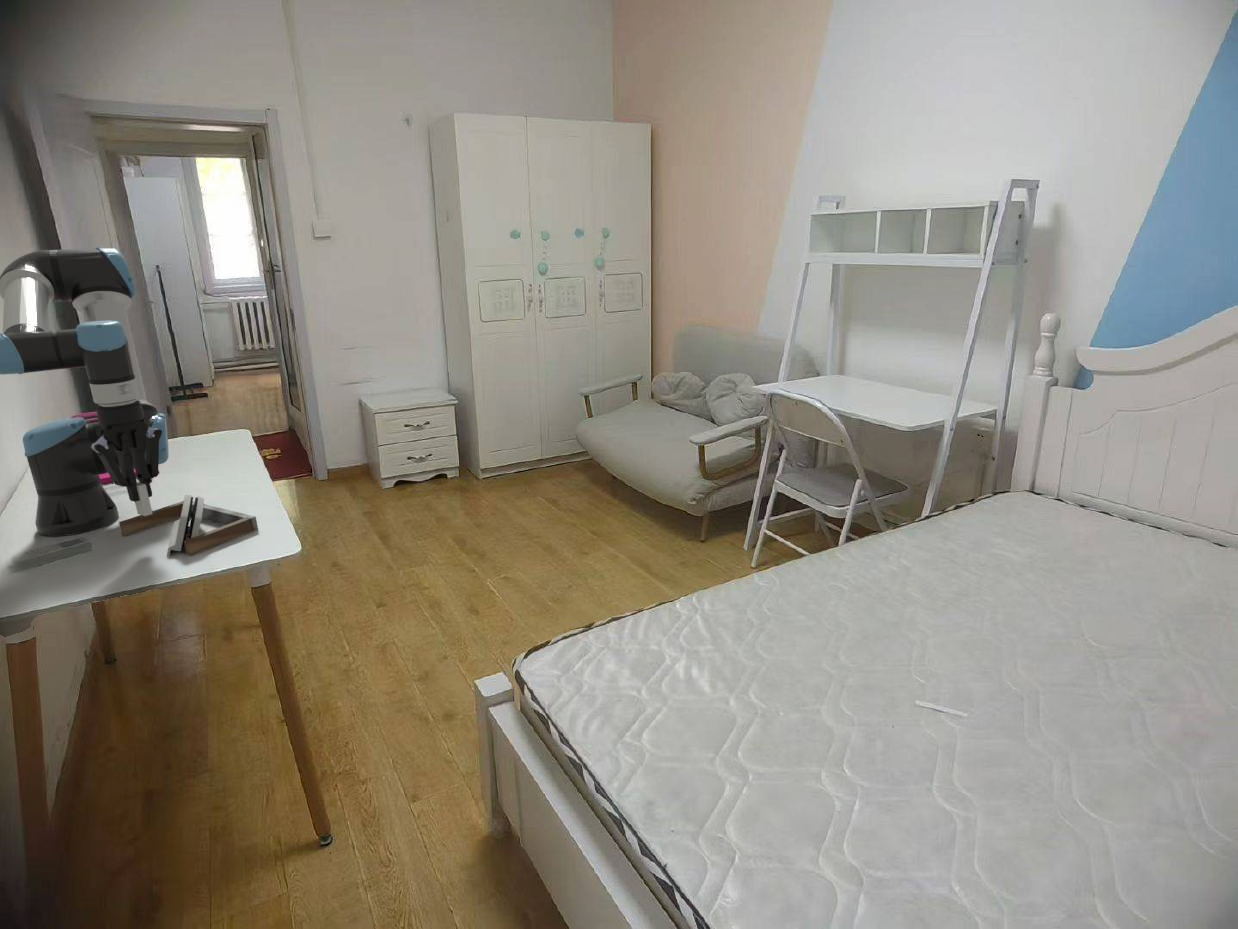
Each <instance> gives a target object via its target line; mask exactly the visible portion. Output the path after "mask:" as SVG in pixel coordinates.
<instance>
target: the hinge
mask: <svg viewBox="0 0 1238 929" xmlns="http://www.w3.org/2000/svg"><path fill="white" fill-rule="evenodd" d="M183 501H184V502H183V507H182V512H181V517H180V518H178V520H177V519H176V521H174V522H173V525H172V528H171V533H170V538H169V542H168V547H167V552H166V557H167V558H168V557H170V555H171V551H175V552H182V550H183V551H184V549H185V545H184V541H185V540H187V539H190V538H193V537H196V536H198V535H200V534H199V532H200V529H201V524H202V520H203V519H202V512H203V506H204V504H205V498H204V497H202V496H197V497H196V496H195V498H194V496H192V495H184V499H183ZM193 501H194V507H193V511H191V509H192V503H193ZM187 535H188V537H187Z"/></svg>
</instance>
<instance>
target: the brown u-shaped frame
mask: <svg viewBox="0 0 1238 929" xmlns="http://www.w3.org/2000/svg"><path fill="white" fill-rule="evenodd" d="M183 502H184V500H183V501H180V502H176V503H173V504H170V505H167V506H164V507H162V508H158V509H154V510H152V513H153V514H150V515H148V516H143V515H140V514H138V515H136V516H134V517H131V518H127V519H125V520H121V521H119V522H118V523H119V524H118V525H119V528H120V531H121V535H122V536H125V537H127V536H130V535H133V534H137V533H139V532H143V531H145V530H147V529H150V528H154V527H156V526H159V525H163V524H166V523H169V522H171V521H174V520H177V519H180V517H181V512H182V507H183ZM194 502H195V500H193V503H192V509H191V511H193V507H194ZM201 520H203V521H204V520H206V521H210V522H213V523H217V524H220V525H222V526H220V527H217V528H213V529H210V530H209V531H206V532H204V533H201V534H198V536H196V537H193V538H190V539H187V540H185V541H184V545H185V547H184V549H185V552H186V555H187V556H190V557H192V556H195V555H197V554H200V553H203V552H204V551H207V550H209V549H213V548H215V547H217V546H220V545H222V543H223V544H226V543H228V542H230V541H233V540H235V539H237V537H238V538H241V537H243V536H245V534H246V535H248V534H250V533H253V532H255V530H256V531H258V530H259V527H258V526H259V525H258V521H257V517H256V516H254V515H249V514H246V513H243V512H239V511H234V510H230V509H225V508H222V507H217V506H215V505H214V506H213V505H209V504H205V503H204V506H203V512H202V519H201ZM257 529H258V530H257ZM252 531H253V532H252ZM242 535H243V536H242ZM229 540H230V541H229ZM227 541H228V542H227ZM212 547H213V548H212Z"/></svg>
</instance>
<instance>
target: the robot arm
mask: <svg viewBox="0 0 1238 929" xmlns="http://www.w3.org/2000/svg"><path fill="white" fill-rule="evenodd" d="M137 295H138V293H137V289H136V285H135V282H134V280H133V277H132V273H131V271H130V268H129V265H128V264H127V260H126V259H125V257H124V255H123V253H122V252H121V251H120V250H118V249H116V248H111V247H109V248H106V247H105V248H103V247H102V248H101V247H95V248H78V249H77V248H73V249H41V250H36V251H32V252H30V253H26V254H24V255H22V256H20V257H18V258H16V259H15V260H13V261H12V262H11V263H10V264H8V265H7V266H6V267H5V268H4V270H3V271H2V273H1V274H0V297H1V298H2V299H3V312H2V313H3V316H2V333H0V375H14V374H15V375H16V374H17V375H22V374H23V375H24V374H29V373H37V372H46V371H56V370H65V369H68V370H69V369H76V368H85V370H86V375H87V377H88V383H89V388H90V392H91V395H92V396H91V397H92V400H93V403H94V404H97V405H96V407H95V412H97V417H96V418H98V420H97V422H96V421H95V422H91V423H89V422H88V423H87V422H86V421H85V420H86V419H85V418H84V417H83V418H81V417H76V418H70V417H69V418H64V419H60V420H55V421H51V422H47V423H44V424H41V425H38V426H36V427H34V428H32V429H30V430H28V431H27V432H26V433H24V435H23V437H22V443H23V449H24V457H26V459H27V463H28V466H29V469H30V473H31V476H32V479H33V484H34V488H35V492H36V495H37V507H36V516H35V521H34V522H35V527H36V529H37V530H36V531H37V533H38V535H41V536H46V537H60V536H70V535H76V534H81V533H82V534H83V533H84V532H85V533H86V532H89V531H93V530H95V529H99V528H102V527H104V526H107V525H109V524H112V523H113V522H115V521H116V520H117V519H119V516H120V513H119V510H118V506H117V505H116V503H115V502H114V500H113V499H112V497H111V496H110V495H109V493H108V492H107V491H106V489H105V488H104V486H103V484H101V481H100V477H99V475H101V474H107V473H109V475H110V477H111V479H112V480H113V482H112V483H113V484H115V485H116V486H118V487H126V491H127V495H128V499H129V500H130V501H131V502H134V505H135V508H136V511H137V514H138V515H143V516H148V515H150V514H153V513H152V511H153V510H152V509H153V508H152V506H151V501H150V497H153V491H152V486H151V483H153V479H154V478H158V476H159V473H158V469H159V465H162V464H164V463H166V462H167V461H168V460H169V456H170V455H169V439H168V436H169V435H168V428H167V417H166V414H165V413H160V412H159V413H158V409H157V406H155V404H152V403H150V402H148V400H147V396H146V395H147V394H146V390H145V387H144V382H143V378H142V374H141V369H140V365H139V360H138V357H137V353H136V347H135V343H134V338H133V334H132V331H131V330H132V329H131V326H130V321H129V317H128V314H127V310H128V309H129V308H130V307H131V306H132V303H133V302H132V301H133V300H132V299H133V298H136V297H137ZM59 302H71V303H72V307H73V308H74V309H75V310H76V311H79V312H80V313H81V314H82V318H83V320H84V321H83V323H79V324H78V325H77V326H76V328H70V329H59V330H55V329H54V330H51V329H52V328H51V316H50V305H51V303H59ZM134 469H135V471H136V475H137V478H136V477H135V472H134ZM121 472H122V473H121Z"/></svg>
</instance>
